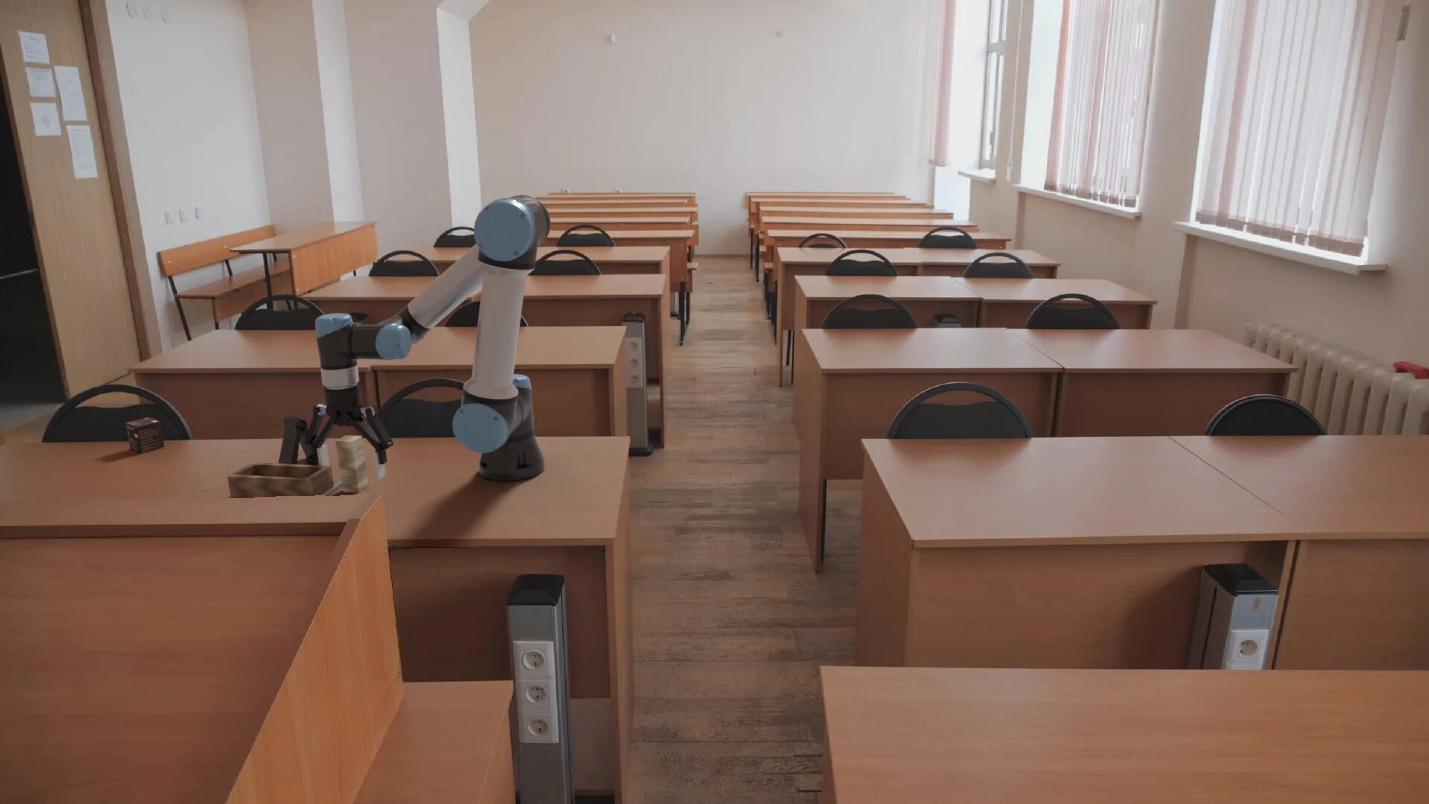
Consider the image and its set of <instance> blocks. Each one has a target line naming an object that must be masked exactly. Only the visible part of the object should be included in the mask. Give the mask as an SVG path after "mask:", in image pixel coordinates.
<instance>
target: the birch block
mask: <svg viewBox="0 0 1429 804" xmlns="http://www.w3.org/2000/svg"><path fill="white" fill-rule="evenodd" d="M363 443H364V442H363V435H346V434H345V435H343V436H341V437H340V438H338V439H337V440H335V447H336V453H337V461H338V468H339V469H338V470H339V475H340V481H341V483H342V487H341V490H342V489H343V490H344V489H345V491H344V492H343V493H359V494H360V493H361V492H363V491H364V490H365V489H366V488H368V487H369V481H368V474H367V473H368V472H367V471H368V470H367V466H366V465H367V463H366V458H365V449H364V444H363ZM365 487H366V488H365ZM364 488H365V489H364ZM343 490H342V491H343Z"/></svg>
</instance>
